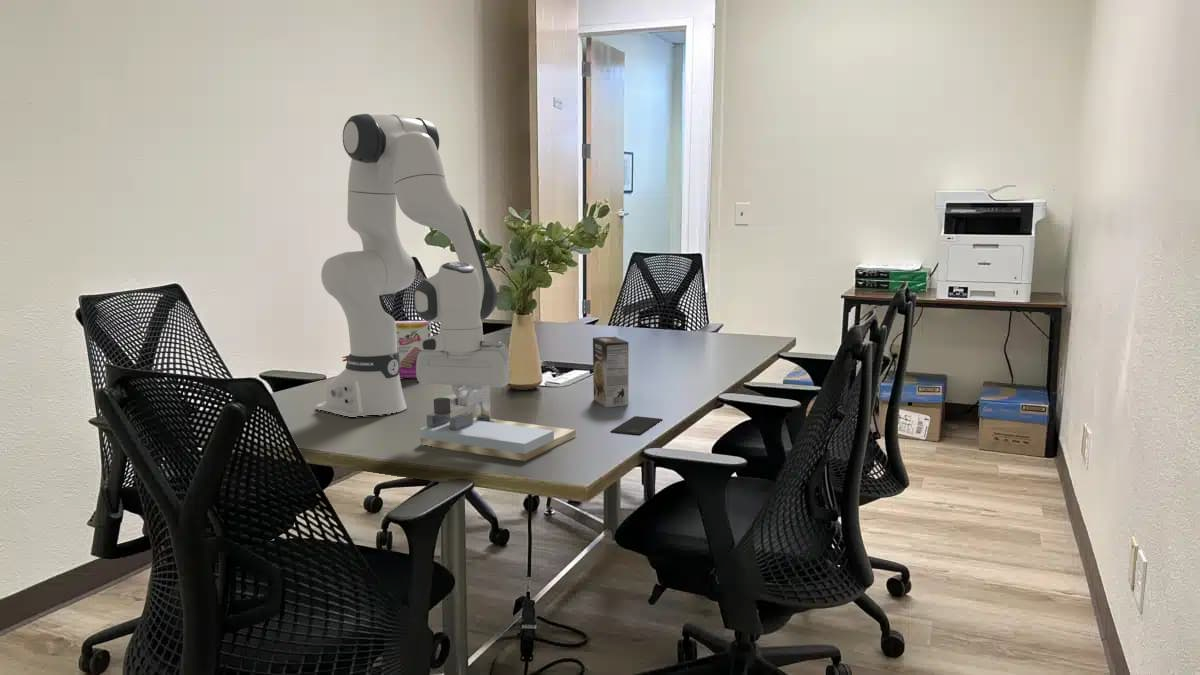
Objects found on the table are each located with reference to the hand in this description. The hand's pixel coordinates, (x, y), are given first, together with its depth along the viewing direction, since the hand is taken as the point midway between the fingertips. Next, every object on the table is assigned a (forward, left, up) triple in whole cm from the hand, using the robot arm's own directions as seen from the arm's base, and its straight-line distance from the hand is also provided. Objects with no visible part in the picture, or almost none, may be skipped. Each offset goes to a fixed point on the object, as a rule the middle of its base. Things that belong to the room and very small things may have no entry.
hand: (464, 405), depth 187 cm
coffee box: (+11, +46, -8) cm, 48 cm away
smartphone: (+27, +28, -8) cm, 40 cm away
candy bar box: (-55, +49, -8) cm, 74 cm away
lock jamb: (+6, +4, -8) cm, 11 cm away
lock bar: (-3, +3, -6) cm, 7 cm away
